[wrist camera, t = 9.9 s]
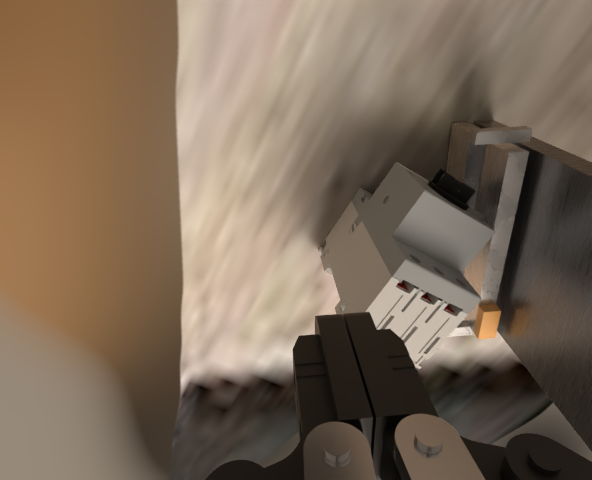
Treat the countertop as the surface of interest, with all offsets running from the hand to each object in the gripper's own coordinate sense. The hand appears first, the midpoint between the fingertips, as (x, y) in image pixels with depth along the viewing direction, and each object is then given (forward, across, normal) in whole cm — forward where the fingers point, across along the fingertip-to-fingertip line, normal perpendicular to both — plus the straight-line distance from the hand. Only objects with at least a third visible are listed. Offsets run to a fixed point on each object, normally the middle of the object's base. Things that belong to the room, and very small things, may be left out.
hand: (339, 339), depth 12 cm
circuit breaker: (+32, -11, +10) cm, 35 cm away
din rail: (+32, -17, +10) cm, 38 cm away
